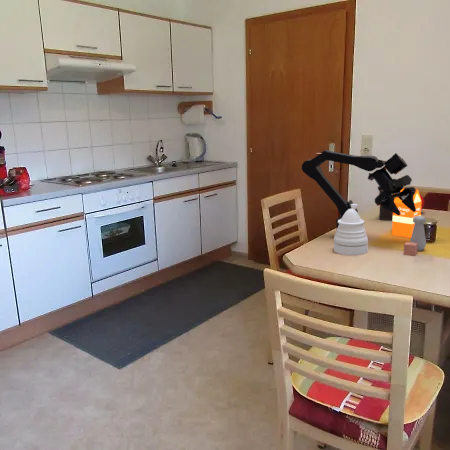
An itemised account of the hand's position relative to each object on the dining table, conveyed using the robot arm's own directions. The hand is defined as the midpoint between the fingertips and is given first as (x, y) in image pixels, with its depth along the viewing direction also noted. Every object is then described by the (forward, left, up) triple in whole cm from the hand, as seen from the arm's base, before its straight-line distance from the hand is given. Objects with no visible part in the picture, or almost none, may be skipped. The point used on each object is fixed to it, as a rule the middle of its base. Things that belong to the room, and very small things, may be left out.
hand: (407, 213), depth 174 cm
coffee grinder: (-17, +45, -14) cm, 50 cm away
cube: (+4, -9, -14) cm, 17 cm away
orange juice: (-4, +19, -14) cm, 24 cm away
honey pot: (-18, -14, -14) cm, 26 cm away
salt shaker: (+5, -2, -14) cm, 15 cm away
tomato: (-11, +64, -14) cm, 66 cm away
